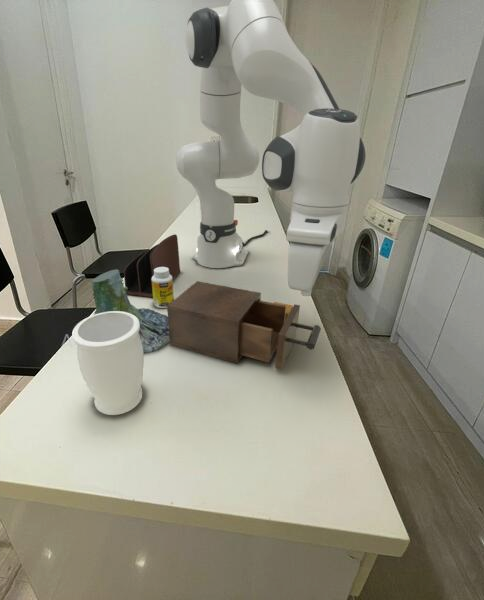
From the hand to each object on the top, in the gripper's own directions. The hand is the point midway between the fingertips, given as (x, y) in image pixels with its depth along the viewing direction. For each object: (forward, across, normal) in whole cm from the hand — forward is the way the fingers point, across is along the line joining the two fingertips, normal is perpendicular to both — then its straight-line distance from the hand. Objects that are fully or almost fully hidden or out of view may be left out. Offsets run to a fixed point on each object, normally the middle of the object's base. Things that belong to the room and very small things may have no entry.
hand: (307, 292), depth 62 cm
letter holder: (+15, -18, -48) cm, 53 cm away
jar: (+14, +27, -26) cm, 40 cm away
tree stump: (+14, +9, -37) cm, 40 cm away
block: (+14, -10, -7) cm, 19 cm away
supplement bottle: (+15, -7, -38) cm, 41 cm away
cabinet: (+14, +2, -18) cm, 23 cm away
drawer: (+13, +2, -6) cm, 15 cm away
